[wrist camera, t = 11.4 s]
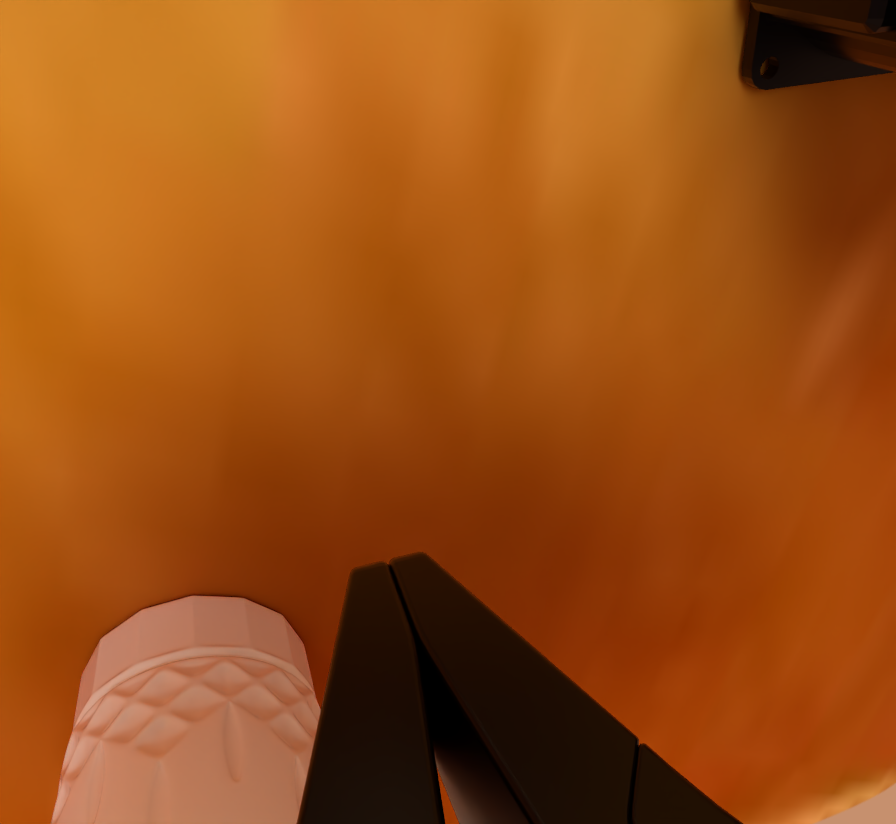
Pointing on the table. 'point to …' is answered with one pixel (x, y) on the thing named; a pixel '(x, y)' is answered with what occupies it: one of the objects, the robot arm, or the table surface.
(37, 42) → the table surface
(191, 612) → the white cup
